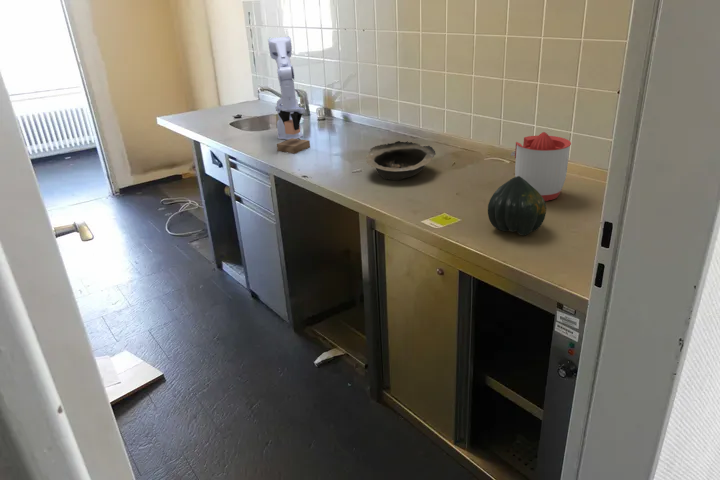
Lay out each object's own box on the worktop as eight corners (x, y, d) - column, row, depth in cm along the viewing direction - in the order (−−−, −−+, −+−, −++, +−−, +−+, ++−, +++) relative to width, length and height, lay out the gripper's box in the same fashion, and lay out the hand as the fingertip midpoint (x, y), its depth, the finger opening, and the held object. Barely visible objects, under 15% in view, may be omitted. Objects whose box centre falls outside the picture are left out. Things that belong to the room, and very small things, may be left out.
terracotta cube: (285, 133, 230) (284, 122, 228) (292, 131, 234) (291, 119, 231) (293, 134, 228) (292, 122, 226) (300, 132, 231) (299, 120, 229)
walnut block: (277, 151, 233) (276, 143, 231) (292, 145, 240) (292, 138, 239) (295, 154, 227) (294, 146, 226) (310, 148, 235) (309, 140, 233)
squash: (513, 229, 135) (541, 176, 135) (469, 214, 146) (495, 166, 147) (539, 250, 144) (564, 200, 144) (495, 235, 155) (519, 189, 156)
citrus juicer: (520, 182, 179) (524, 122, 171) (572, 191, 169) (580, 128, 161) (498, 197, 169) (502, 134, 160) (553, 208, 158) (560, 141, 150)
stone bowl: (414, 158, 210) (415, 135, 205) (446, 182, 189) (448, 157, 185) (355, 168, 202) (355, 145, 198) (382, 194, 182) (382, 168, 177)
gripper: (269, 97, 225) (273, 129, 231) (295, 99, 217) (299, 132, 223) (280, 94, 230) (284, 125, 236) (306, 96, 222) (310, 128, 228)
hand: (292, 129), depth 230 cm, fingers closed on terracotta cube, 4 cm apart
